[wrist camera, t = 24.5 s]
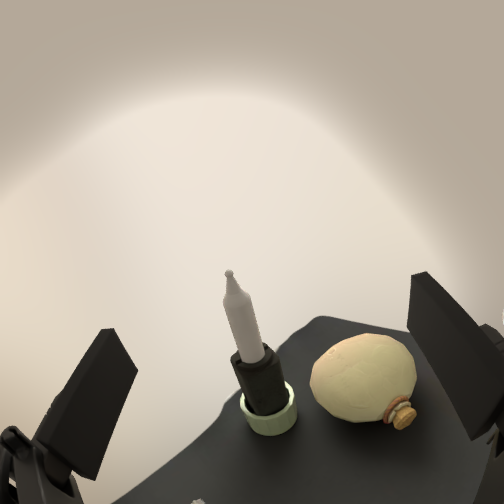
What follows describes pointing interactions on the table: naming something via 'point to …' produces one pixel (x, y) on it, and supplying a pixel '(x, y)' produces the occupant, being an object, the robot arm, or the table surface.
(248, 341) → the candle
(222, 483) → the table surface
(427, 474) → the table surface
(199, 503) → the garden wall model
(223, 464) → the table surface
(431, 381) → the table surface
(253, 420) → the candle holder
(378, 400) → the flask
